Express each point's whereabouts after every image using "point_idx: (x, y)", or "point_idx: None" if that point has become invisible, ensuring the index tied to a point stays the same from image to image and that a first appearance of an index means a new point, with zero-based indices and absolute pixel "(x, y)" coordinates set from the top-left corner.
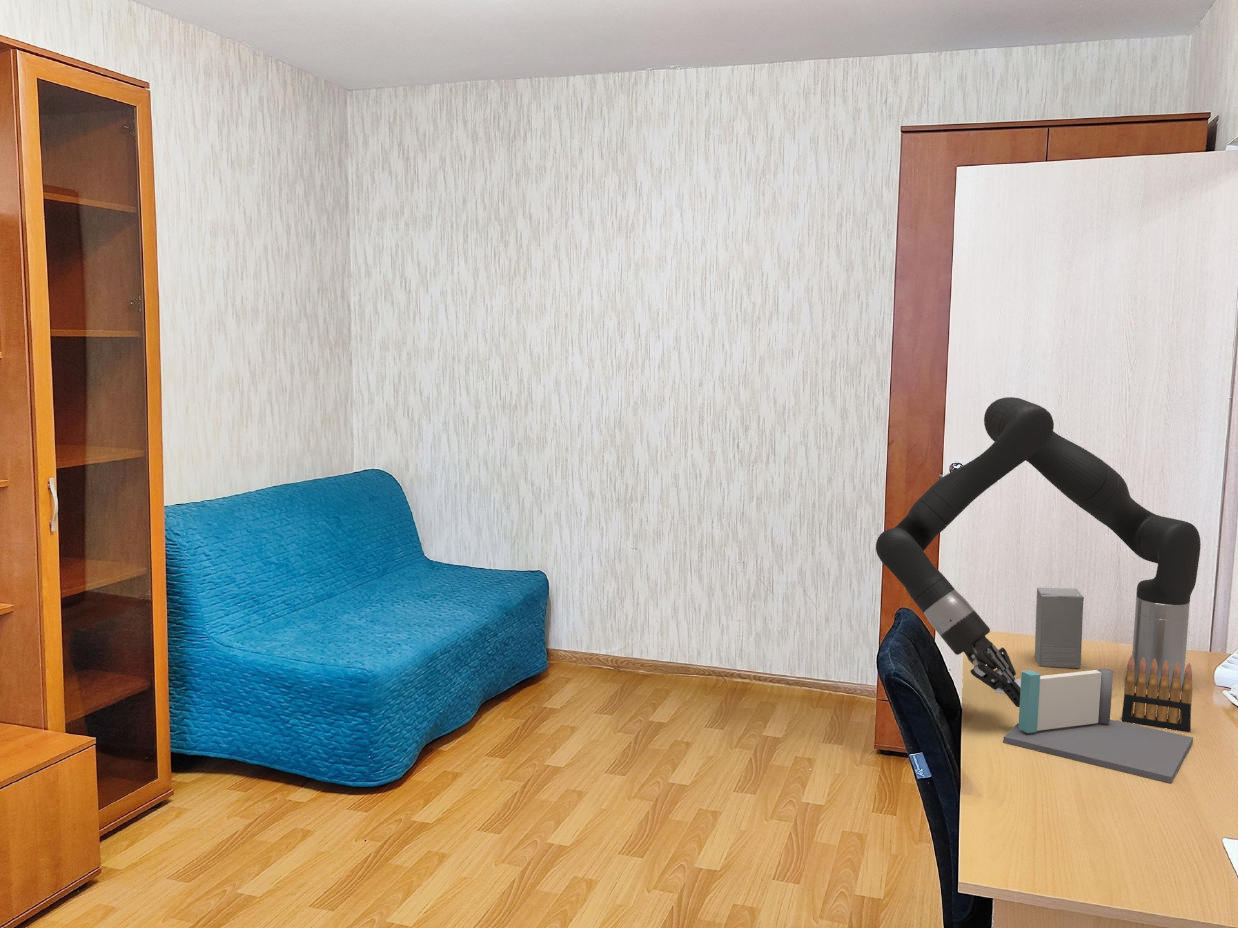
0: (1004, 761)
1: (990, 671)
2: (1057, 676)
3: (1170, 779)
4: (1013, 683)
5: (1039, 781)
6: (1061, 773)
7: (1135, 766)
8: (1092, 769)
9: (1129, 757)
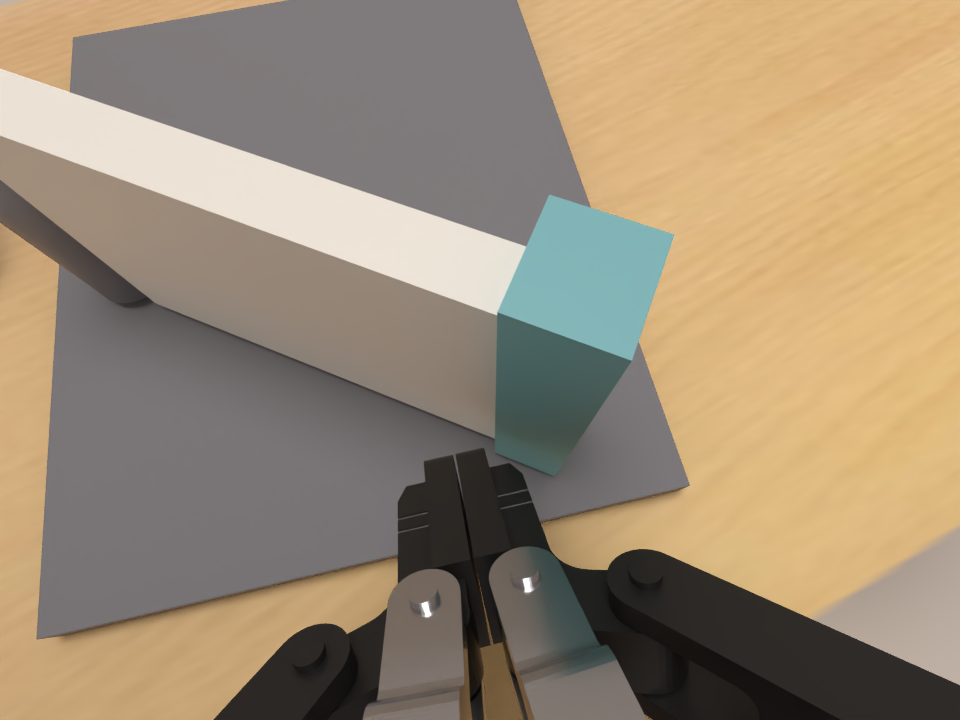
0: (862, 369)
1: (903, 681)
2: (308, 195)
3: None
4: (491, 549)
5: (884, 199)
6: (744, 186)
7: (512, 42)
8: (609, 143)
9: (448, 80)
